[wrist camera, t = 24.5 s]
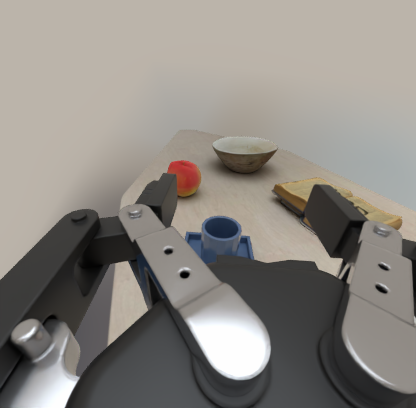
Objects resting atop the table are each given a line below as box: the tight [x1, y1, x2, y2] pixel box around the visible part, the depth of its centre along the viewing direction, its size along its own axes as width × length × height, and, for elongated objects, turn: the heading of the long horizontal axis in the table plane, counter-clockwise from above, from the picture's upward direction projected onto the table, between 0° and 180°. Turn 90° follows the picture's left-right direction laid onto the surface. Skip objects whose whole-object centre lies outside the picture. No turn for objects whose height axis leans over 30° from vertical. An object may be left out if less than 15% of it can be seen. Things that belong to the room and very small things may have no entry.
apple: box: [167, 160, 201, 197], centre depth 58 cm, size 10×10×10 cm
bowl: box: [213, 137, 278, 173], centre depth 78 cm, size 24×24×10 cm
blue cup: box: [201, 216, 242, 264], centre depth 36 cm, size 6×6×8 cm
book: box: [272, 177, 402, 234], centre depth 52 cm, size 25×17×6 cm
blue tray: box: [185, 232, 254, 260], centre depth 38 cm, size 13×13×2 cm
